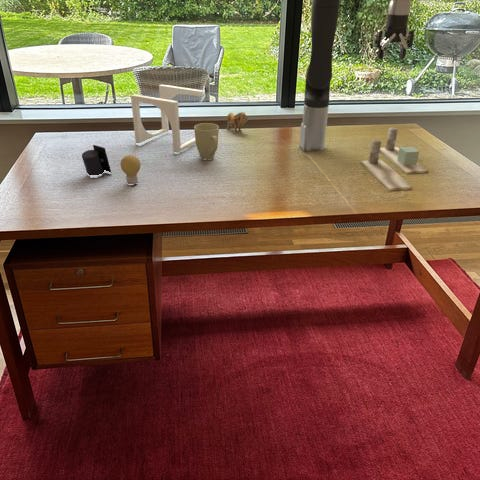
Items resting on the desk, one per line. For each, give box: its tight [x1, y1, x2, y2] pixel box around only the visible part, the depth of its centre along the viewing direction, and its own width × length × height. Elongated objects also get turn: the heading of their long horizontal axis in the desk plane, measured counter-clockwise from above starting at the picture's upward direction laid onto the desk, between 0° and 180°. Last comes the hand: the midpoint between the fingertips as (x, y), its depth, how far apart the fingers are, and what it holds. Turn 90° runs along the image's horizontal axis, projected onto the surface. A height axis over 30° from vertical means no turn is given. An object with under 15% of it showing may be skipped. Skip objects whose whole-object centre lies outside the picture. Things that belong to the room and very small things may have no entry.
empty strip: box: [360, 139, 413, 192], centre depth 167 cm, size 8×24×9 cm, turn 10°
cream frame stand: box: [130, 84, 205, 153], centre depth 193 cm, size 20×20×20 cm
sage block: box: [397, 146, 420, 166], centre depth 176 cm, size 5×5×5 cm
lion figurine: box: [224, 111, 250, 134], centre depth 211 cm, size 15×5×9 cm, turn 40°
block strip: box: [380, 127, 429, 175], centre depth 179 cm, size 8×24×9 cm, turn 10°
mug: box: [193, 122, 220, 161], centre depth 180 cm, size 11×10×12 cm
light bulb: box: [120, 154, 142, 185], centre depth 160 cm, size 6×6×10 cm
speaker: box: [81, 144, 112, 175], centre depth 167 cm, size 8×6×10 cm
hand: (391, 59), depth 187 cm, fingers open, 8 cm apart
